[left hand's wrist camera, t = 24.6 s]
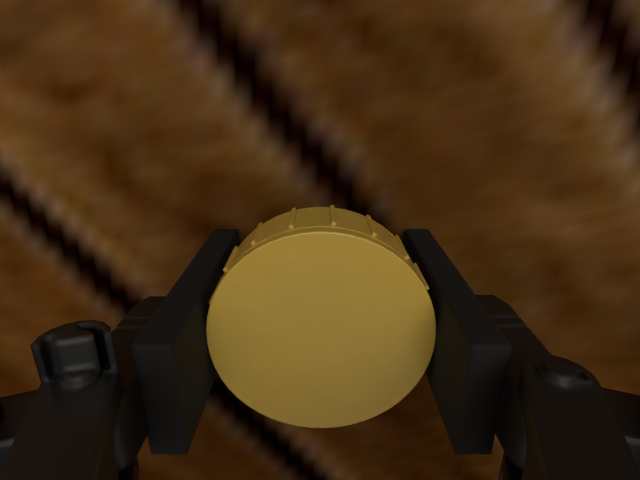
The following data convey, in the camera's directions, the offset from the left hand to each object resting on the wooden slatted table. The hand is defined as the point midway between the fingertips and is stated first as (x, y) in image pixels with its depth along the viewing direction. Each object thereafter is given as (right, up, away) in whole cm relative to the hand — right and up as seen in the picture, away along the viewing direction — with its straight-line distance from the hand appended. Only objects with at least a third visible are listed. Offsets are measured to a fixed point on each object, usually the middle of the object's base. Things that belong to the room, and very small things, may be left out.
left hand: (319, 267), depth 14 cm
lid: (0, -1, -4) cm, 4 cm away
